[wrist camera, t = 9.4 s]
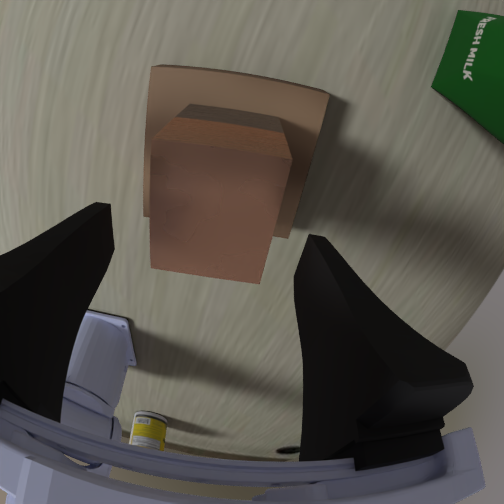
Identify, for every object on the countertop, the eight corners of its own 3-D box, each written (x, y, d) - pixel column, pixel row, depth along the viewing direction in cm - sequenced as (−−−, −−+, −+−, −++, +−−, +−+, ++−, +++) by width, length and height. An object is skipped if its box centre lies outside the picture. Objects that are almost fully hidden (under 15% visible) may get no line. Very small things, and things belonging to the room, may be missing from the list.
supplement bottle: (159, 425, 50) (152, 476, 41) (130, 414, 48) (120, 467, 39) (173, 418, 47) (166, 475, 38) (142, 407, 45) (131, 465, 36)
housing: (278, 117, 16) (292, 159, 10) (258, 207, 19) (259, 284, 14) (189, 103, 15) (151, 139, 10) (180, 195, 19) (150, 267, 13)
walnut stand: (285, 222, 22) (288, 238, 21) (151, 202, 21) (143, 216, 20) (322, 90, 16) (329, 94, 15) (161, 64, 15) (151, 66, 14)
